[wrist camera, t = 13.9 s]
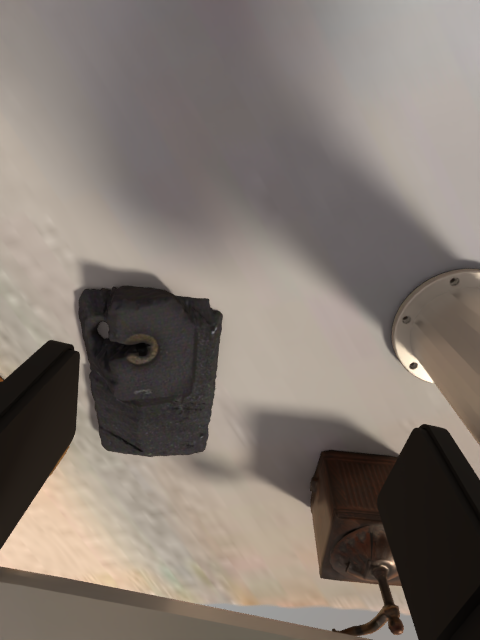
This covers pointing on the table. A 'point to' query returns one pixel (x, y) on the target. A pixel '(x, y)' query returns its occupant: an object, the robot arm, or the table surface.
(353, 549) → the manual coffee grinder
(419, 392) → the table surface
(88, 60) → the table surface
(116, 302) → the dark slate chunk
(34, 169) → the table surface
